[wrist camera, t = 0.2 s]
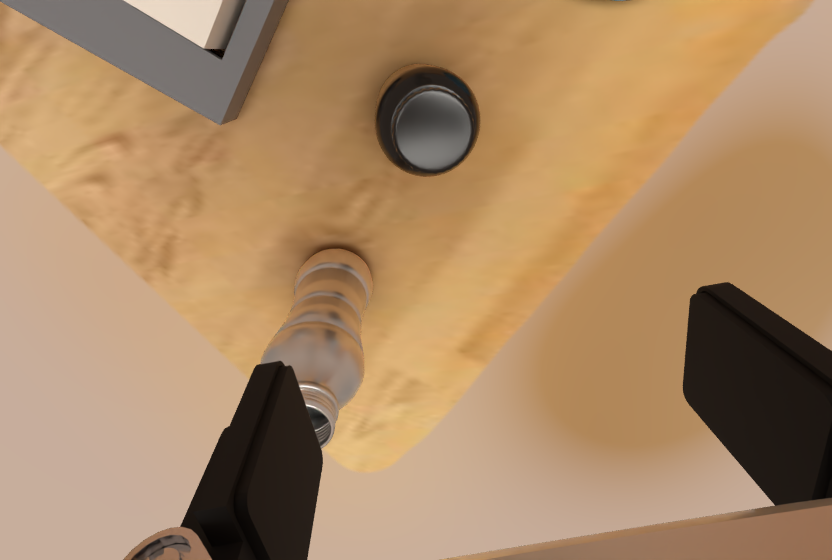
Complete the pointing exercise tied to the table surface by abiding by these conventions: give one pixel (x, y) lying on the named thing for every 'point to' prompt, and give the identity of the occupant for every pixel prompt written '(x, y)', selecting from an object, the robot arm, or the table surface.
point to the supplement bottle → (426, 120)
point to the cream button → (196, 18)
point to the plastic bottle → (325, 334)
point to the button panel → (166, 49)
